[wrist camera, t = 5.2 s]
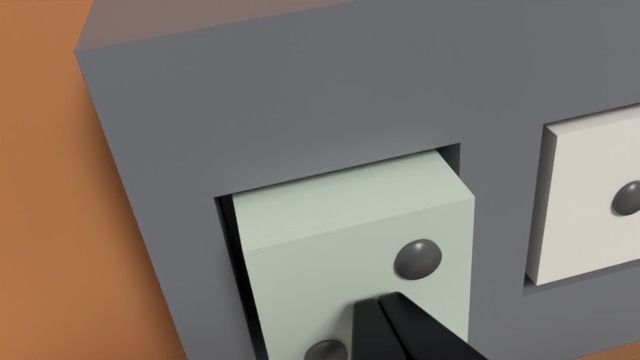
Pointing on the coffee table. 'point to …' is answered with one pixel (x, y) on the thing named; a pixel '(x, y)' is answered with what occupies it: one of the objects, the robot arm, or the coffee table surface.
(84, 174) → the coffee table surface
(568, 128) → the key one dot
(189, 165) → the keypad
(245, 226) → the key two dots
